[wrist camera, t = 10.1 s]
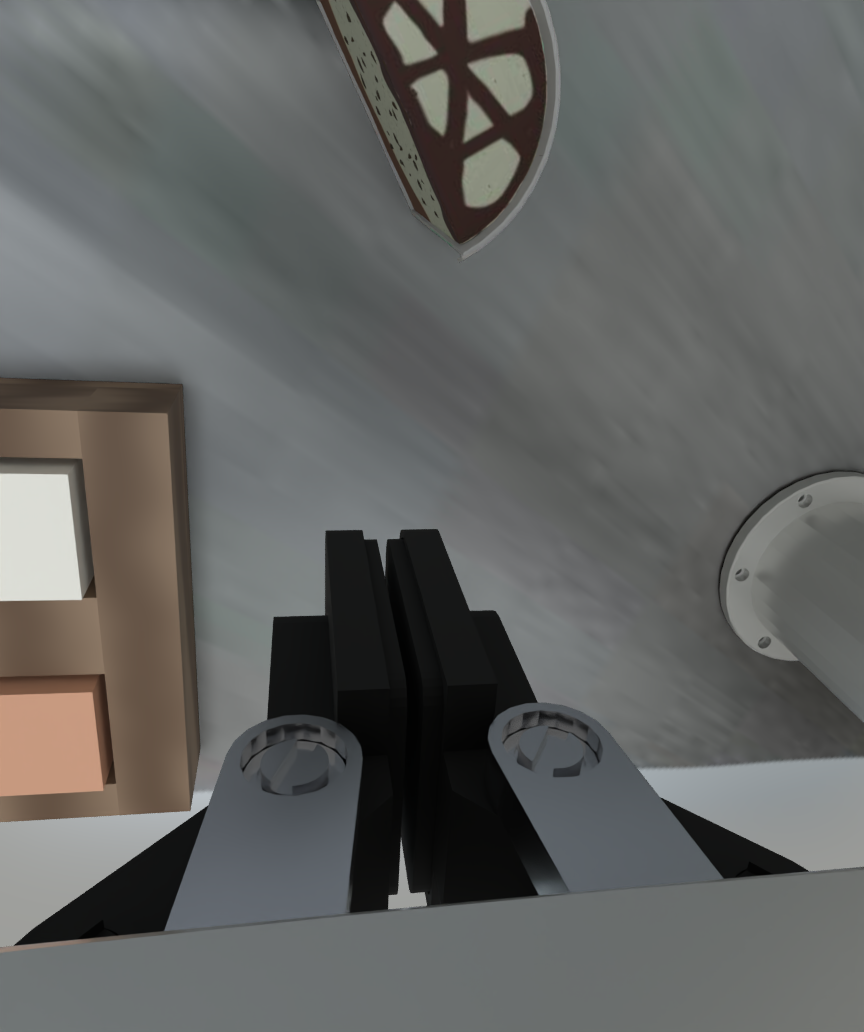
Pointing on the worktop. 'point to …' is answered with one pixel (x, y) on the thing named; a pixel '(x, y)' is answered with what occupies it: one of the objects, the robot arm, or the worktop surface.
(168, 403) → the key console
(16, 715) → the terracotta key
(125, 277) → the worktop surface
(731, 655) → the worktop surface
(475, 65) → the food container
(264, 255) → the worktop surface
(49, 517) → the offwhite key
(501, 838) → the robot arm
